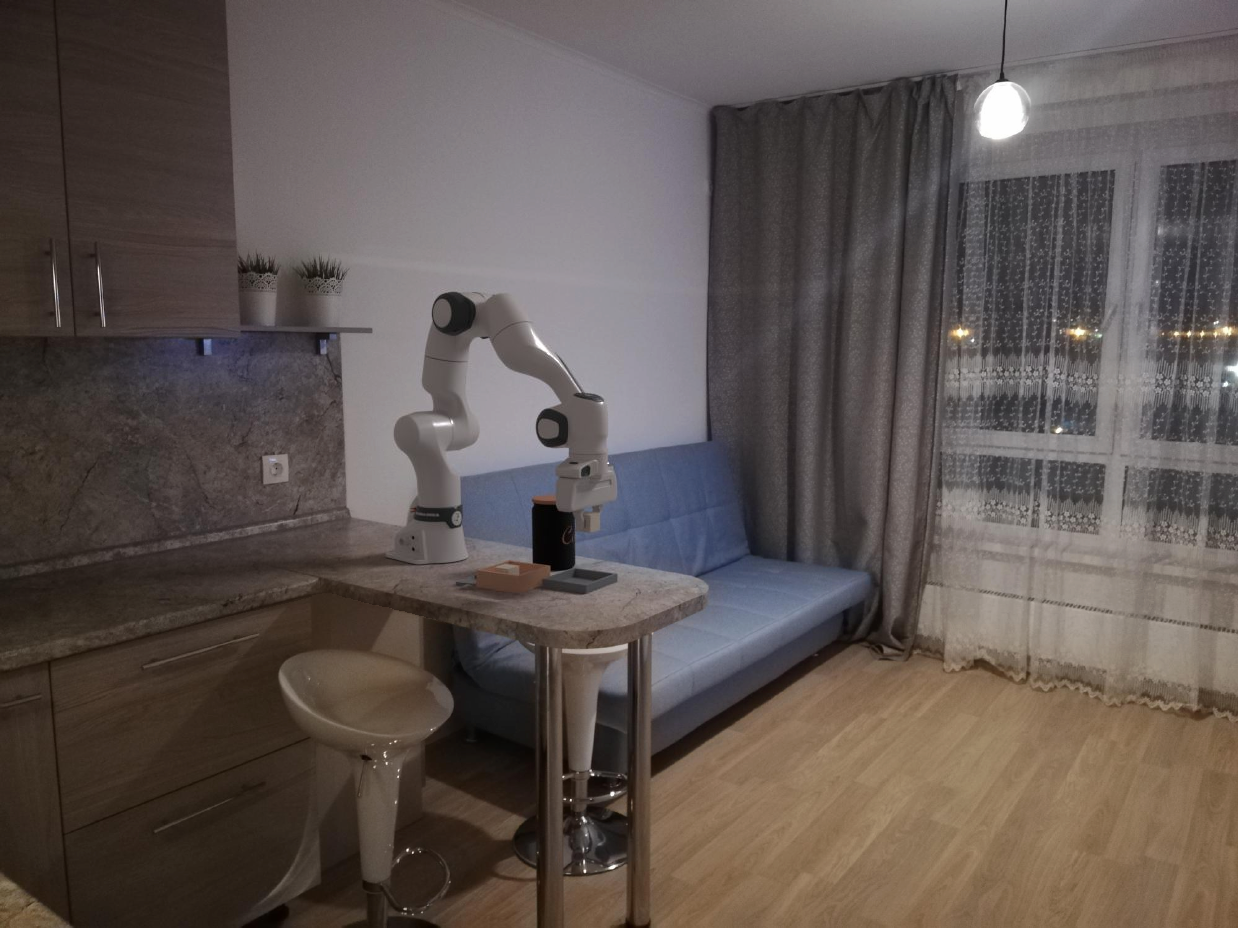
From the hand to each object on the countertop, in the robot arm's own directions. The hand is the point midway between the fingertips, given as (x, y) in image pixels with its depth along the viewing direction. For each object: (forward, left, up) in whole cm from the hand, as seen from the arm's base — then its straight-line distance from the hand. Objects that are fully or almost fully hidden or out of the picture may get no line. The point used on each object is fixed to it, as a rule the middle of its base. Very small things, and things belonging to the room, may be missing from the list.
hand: (587, 526), depth 209 cm
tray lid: (-25, -8, -14) cm, 30 cm away
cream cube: (-17, -8, -14) cm, 23 cm away
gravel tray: (-2, 0, -14) cm, 15 cm away
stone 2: (0, 0, -1) cm, 1 cm away
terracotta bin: (-15, -8, -14) cm, 22 cm away
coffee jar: (-18, +12, -15) cm, 26 cm away
